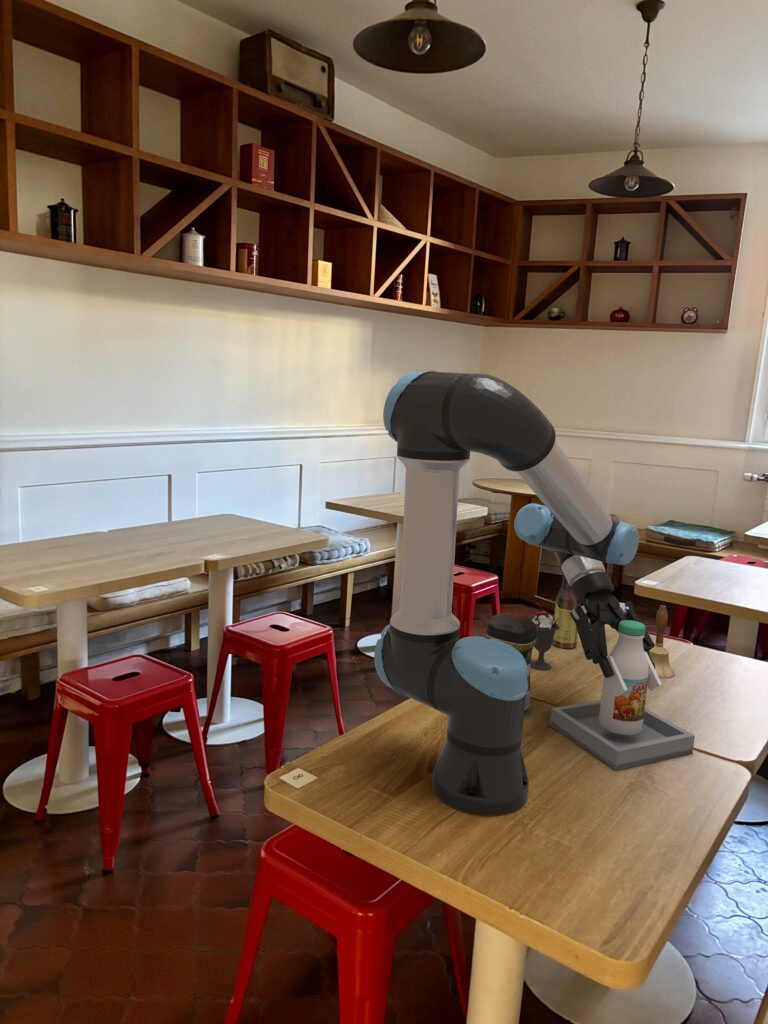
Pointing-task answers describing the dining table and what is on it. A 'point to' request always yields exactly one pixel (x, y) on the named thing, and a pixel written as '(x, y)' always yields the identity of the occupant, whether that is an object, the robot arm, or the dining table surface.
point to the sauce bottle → (565, 617)
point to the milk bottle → (626, 682)
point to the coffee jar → (514, 638)
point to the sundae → (543, 637)
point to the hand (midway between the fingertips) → (638, 690)
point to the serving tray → (621, 736)
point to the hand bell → (661, 647)
